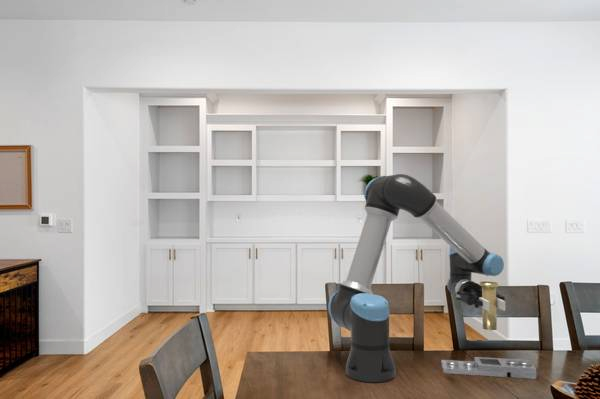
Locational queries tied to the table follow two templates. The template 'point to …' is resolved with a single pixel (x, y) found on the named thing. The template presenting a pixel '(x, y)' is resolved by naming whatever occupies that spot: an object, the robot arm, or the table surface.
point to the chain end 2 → (507, 366)
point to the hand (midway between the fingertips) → (496, 306)
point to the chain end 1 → (468, 368)
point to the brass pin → (490, 296)
